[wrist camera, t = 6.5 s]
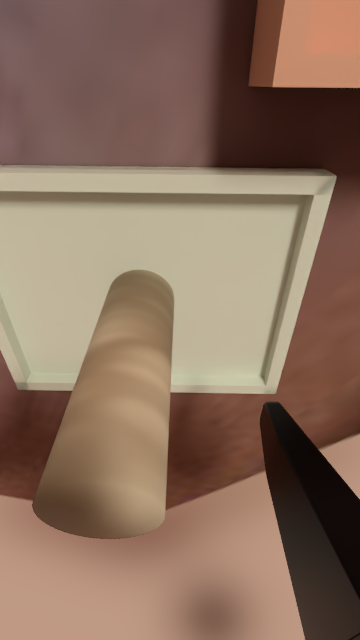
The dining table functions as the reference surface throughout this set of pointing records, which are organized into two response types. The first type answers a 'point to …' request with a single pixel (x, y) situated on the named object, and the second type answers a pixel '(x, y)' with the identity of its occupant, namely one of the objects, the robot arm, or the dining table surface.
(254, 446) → the dining table surface
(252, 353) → the tray
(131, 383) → the dowel
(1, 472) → the dining table surface
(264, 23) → the orange open box
